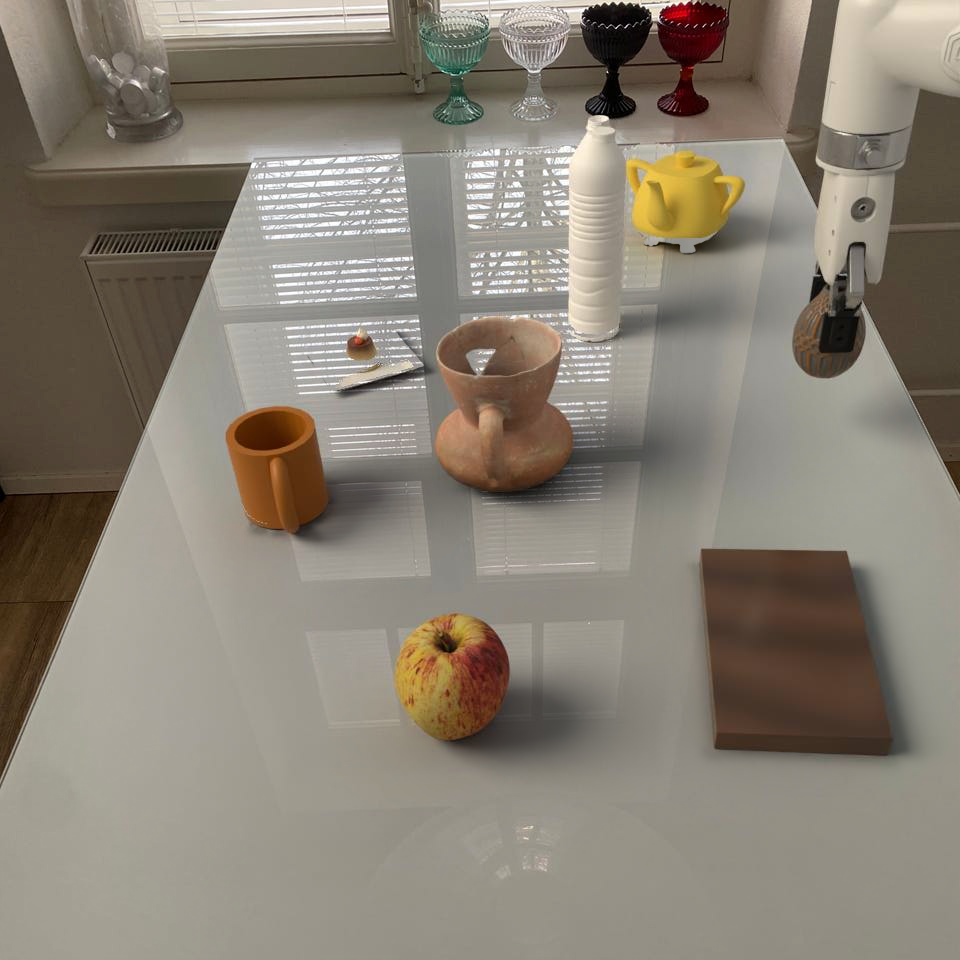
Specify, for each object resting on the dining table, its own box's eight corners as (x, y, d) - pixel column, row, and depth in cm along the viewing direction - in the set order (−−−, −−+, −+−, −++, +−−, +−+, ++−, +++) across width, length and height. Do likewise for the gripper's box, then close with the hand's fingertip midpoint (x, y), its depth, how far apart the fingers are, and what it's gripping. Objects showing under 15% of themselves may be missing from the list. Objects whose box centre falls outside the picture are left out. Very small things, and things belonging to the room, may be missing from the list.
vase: (870, 364, 102) (888, 282, 96) (836, 393, 98) (852, 310, 92) (809, 346, 105) (823, 265, 99) (775, 373, 102) (786, 291, 96)
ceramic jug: (454, 419, 113) (443, 301, 103) (581, 425, 110) (583, 304, 100) (419, 517, 100) (403, 393, 90) (562, 525, 98) (561, 399, 88)
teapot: (613, 228, 147) (615, 143, 138) (705, 214, 148) (713, 129, 140) (643, 267, 137) (647, 178, 129) (741, 252, 138) (752, 163, 130)
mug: (235, 553, 98) (212, 478, 92) (250, 481, 107) (230, 408, 100) (325, 546, 98) (308, 471, 92) (333, 475, 106) (318, 402, 100)
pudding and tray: (332, 400, 117) (325, 363, 114) (303, 356, 125) (296, 320, 122) (426, 373, 120) (422, 337, 117) (391, 332, 128) (387, 297, 125)
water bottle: (565, 320, 128) (565, 110, 110) (616, 316, 128) (624, 105, 110) (573, 353, 121) (574, 136, 104) (626, 349, 121) (636, 132, 104)
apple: (502, 769, 77) (495, 682, 70) (390, 757, 79) (372, 671, 71) (519, 683, 83) (515, 596, 76) (415, 674, 85) (401, 587, 78)
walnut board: (698, 564, 93) (700, 548, 91) (842, 567, 91) (847, 550, 90) (714, 749, 77) (716, 732, 76) (887, 755, 76) (893, 739, 74)
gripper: (929, 178, 80) (884, 376, 92) (888, 109, 92) (853, 292, 105) (833, 182, 81) (801, 377, 93) (805, 113, 93) (780, 294, 106)
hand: (829, 331), depth 99 cm, fingers closed on vase, 6 cm apart
